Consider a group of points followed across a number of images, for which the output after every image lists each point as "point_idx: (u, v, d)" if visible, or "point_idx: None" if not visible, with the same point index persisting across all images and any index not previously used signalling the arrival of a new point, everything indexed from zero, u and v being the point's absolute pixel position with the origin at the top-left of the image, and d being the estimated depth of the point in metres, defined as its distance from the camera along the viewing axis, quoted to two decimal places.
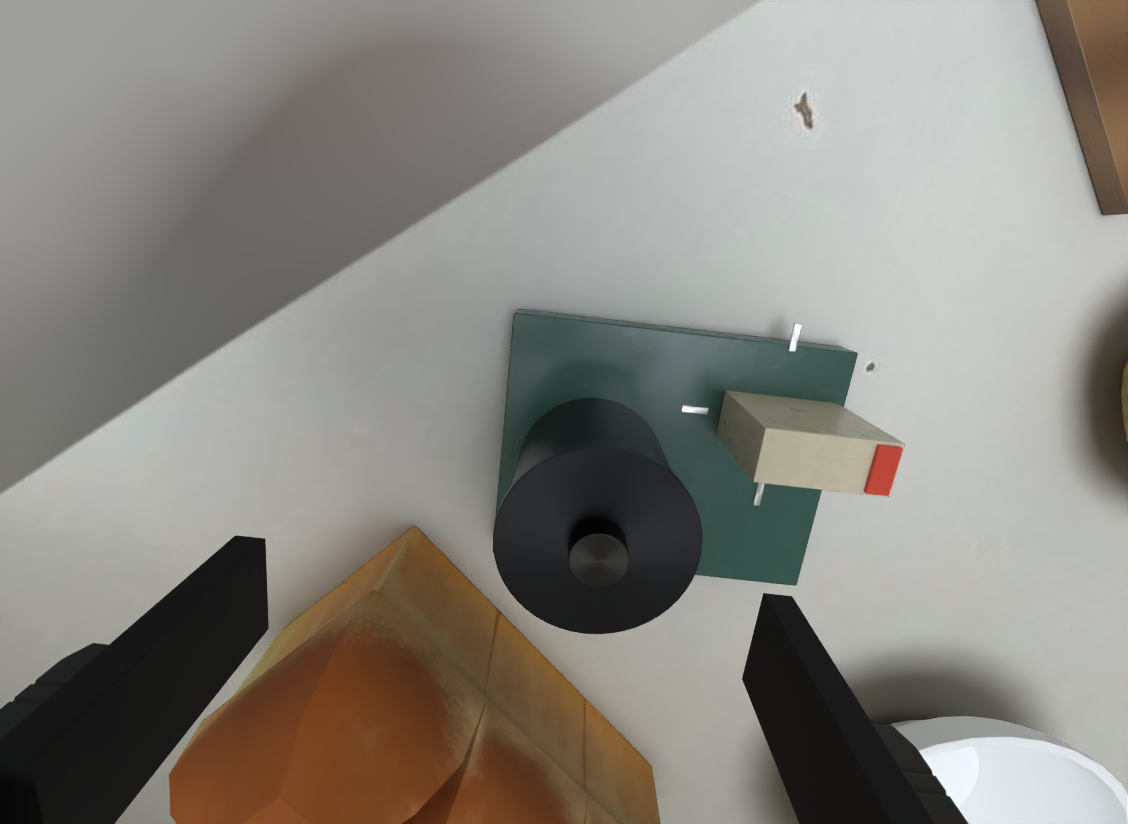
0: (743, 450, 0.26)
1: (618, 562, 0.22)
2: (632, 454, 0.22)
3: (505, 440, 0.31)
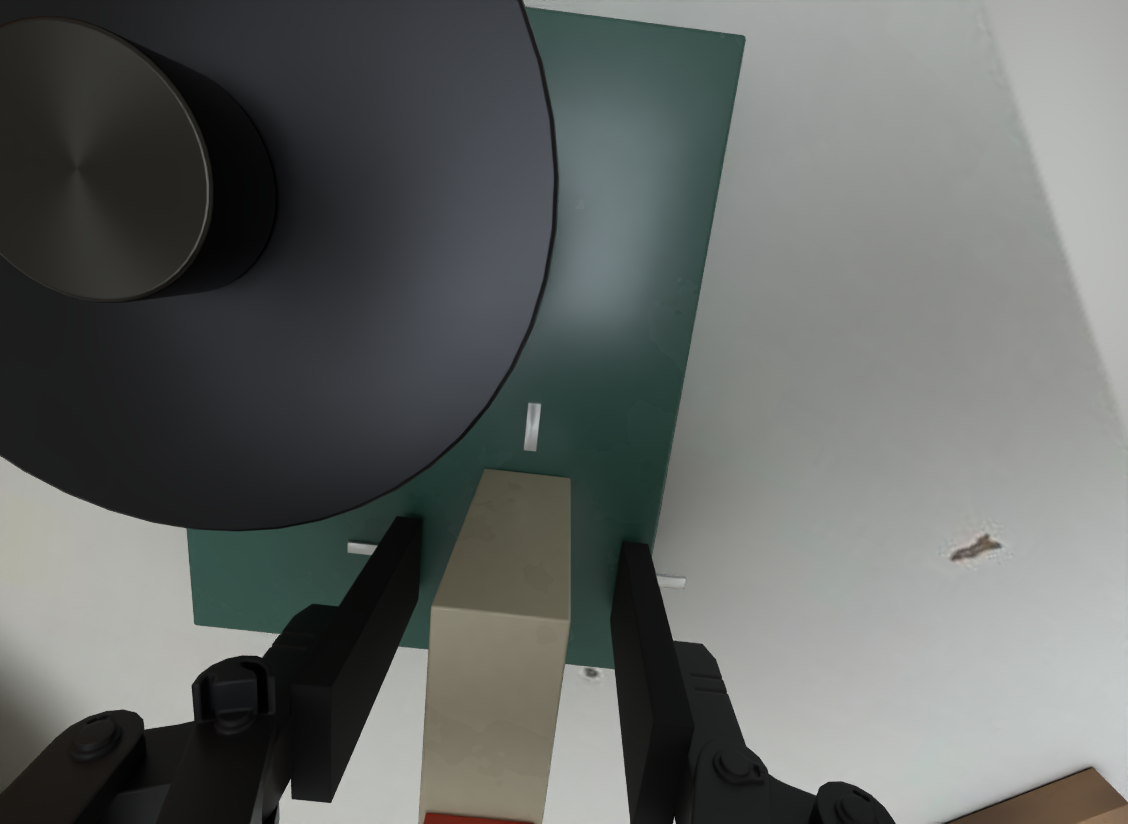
0: (488, 553, 0.12)
1: (92, 256, 0.05)
2: (531, 303, 0.07)
3: None
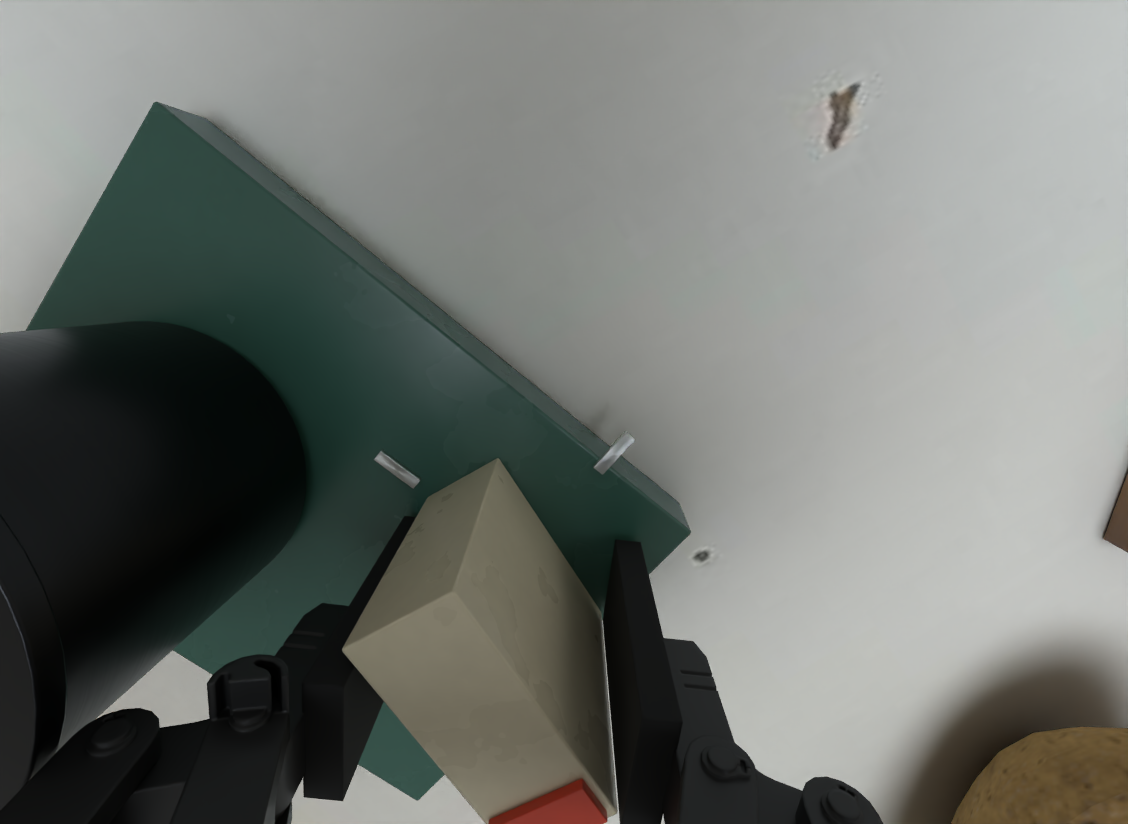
0: (403, 572, 0.12)
1: None
2: None
3: (36, 324, 0.15)
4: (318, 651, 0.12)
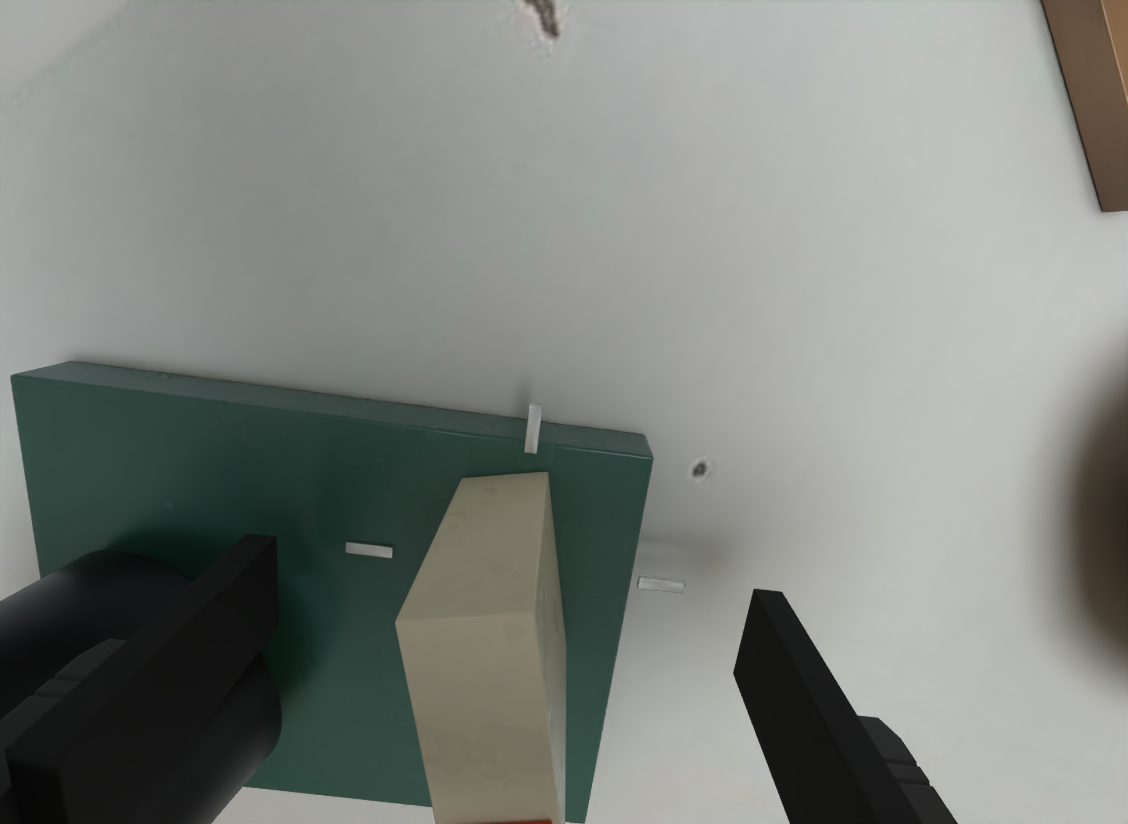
0: (457, 560, 0.12)
1: None
2: None
3: None
4: None
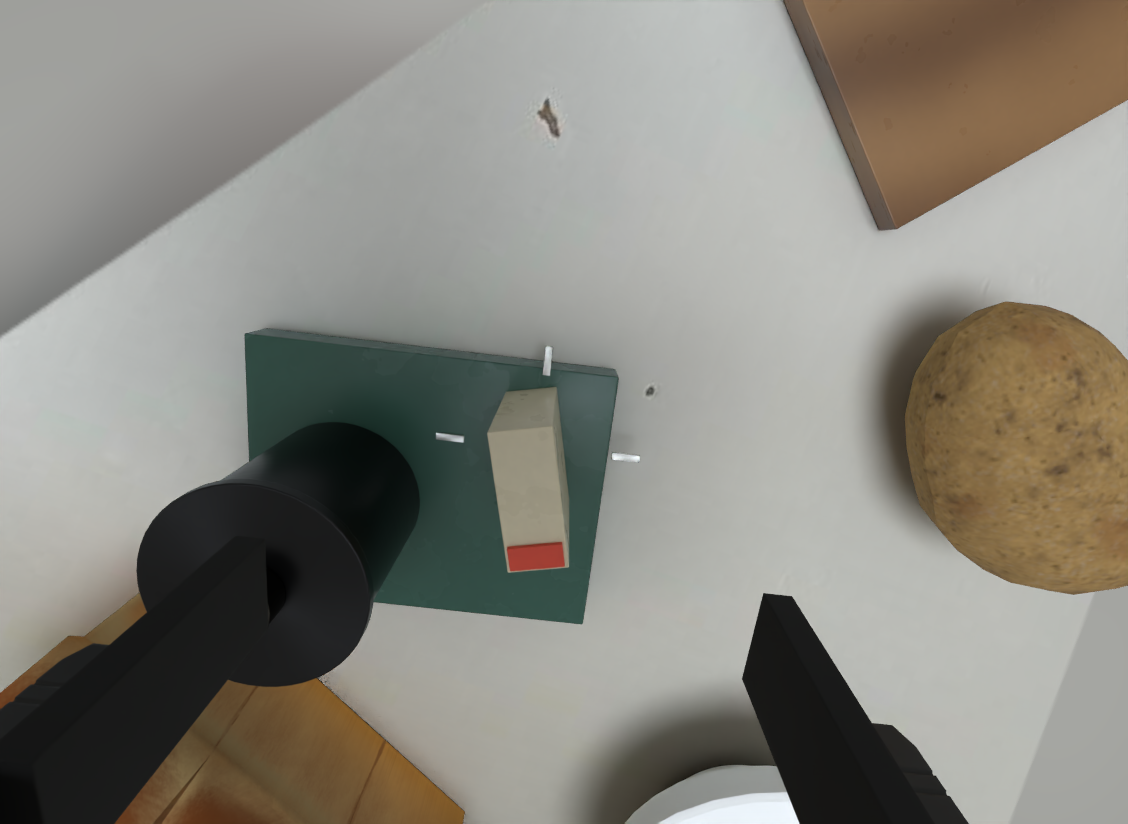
0: (511, 416, 0.23)
1: None
2: (267, 490, 0.20)
3: None
4: None
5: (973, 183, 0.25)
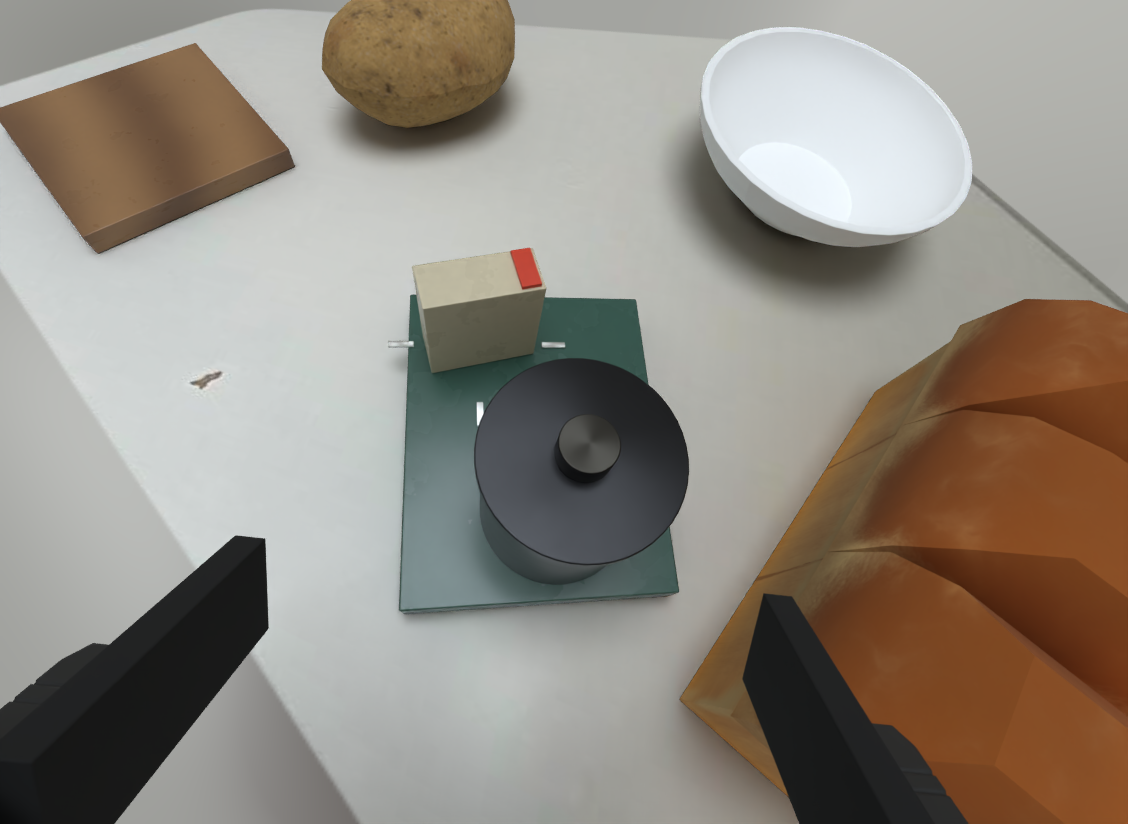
0: (422, 318, 0.28)
1: (586, 424, 0.22)
2: (477, 441, 0.22)
3: (544, 597, 0.28)
4: None
5: (257, 115, 0.38)
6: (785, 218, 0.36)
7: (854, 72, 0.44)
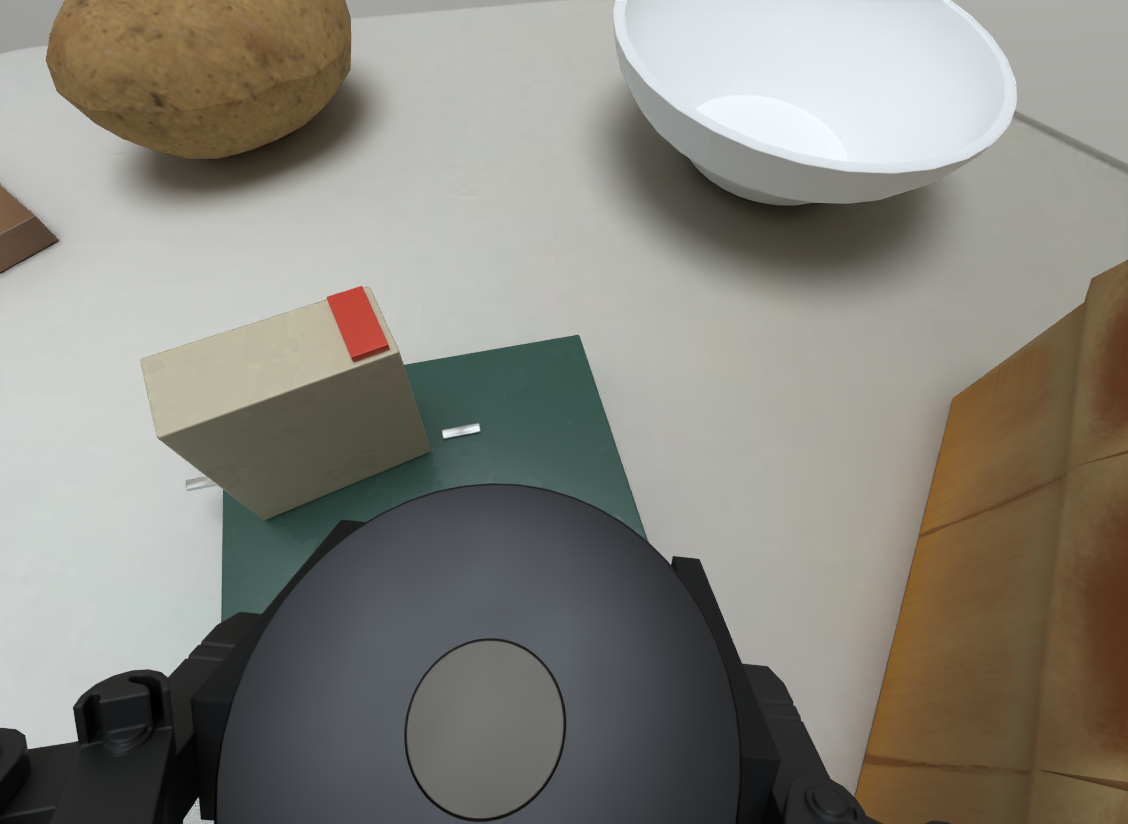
0: None
1: (471, 671, 0.09)
2: (223, 757, 0.09)
3: None
4: None
5: None
6: (773, 176, 0.24)
7: None
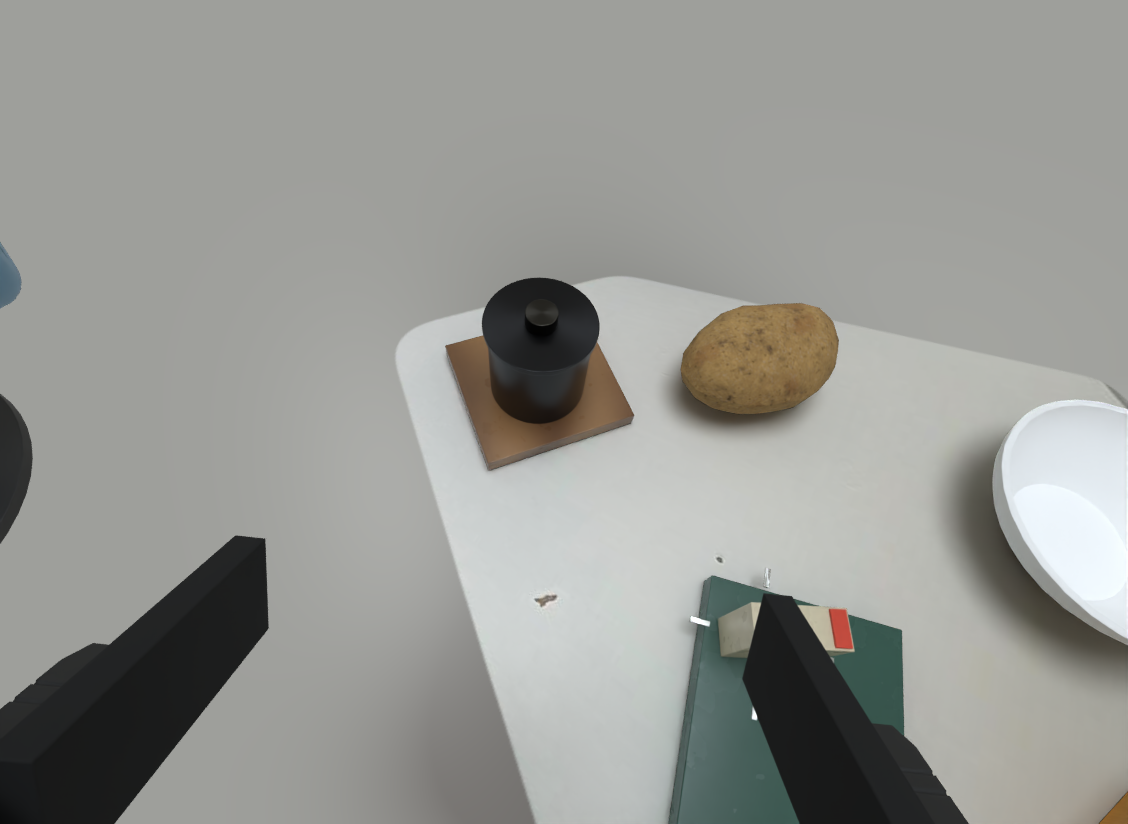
0: (742, 636, 0.35)
1: (538, 304, 0.41)
2: (483, 325, 0.41)
3: None
4: None
5: (615, 380, 0.50)
6: (1068, 605, 0.39)
7: None
